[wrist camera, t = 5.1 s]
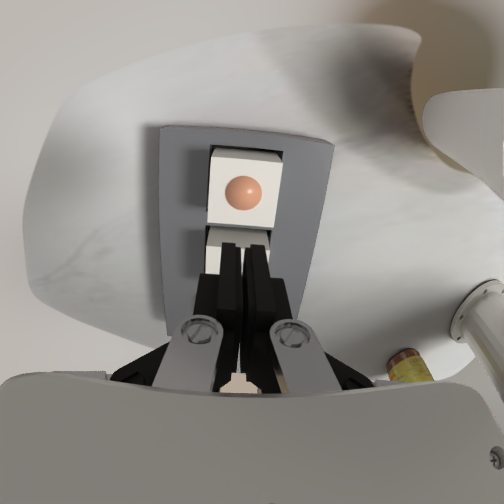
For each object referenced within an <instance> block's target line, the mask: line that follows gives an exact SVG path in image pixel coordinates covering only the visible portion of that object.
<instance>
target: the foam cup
mask: <svg viewBox="0 0 504 504" xmlns="http://www.w3.org/2000/svg"><path fill="white" fill-rule="evenodd" d="M422 124H423V131H424V133H425V135H426V137H427V139H428V141H429V143H431V144H432V145H433V146H434V147H436V148H437V149H439V150H440V151H441V152H443V153H444V154H446V155H447V156H449V157H450V158H452V159H453V160H455V161H456V162H458V163H459V164H461V165H462V166H463V167H465V168H466V169H467V170H469V171H470V172H472V173H473V174H474V175H476V176H477V177H478V178H480V179H481V180H482V181H483V182H485V183H486V184H487V185H489V186H490V188H491V189H492V190H493V191H494V192H495V193H496V194H497V195H498V196H499V197H500V198H501V199H503V200H504V88H498V89H497V88H496V89H477V90H464V91H454V92H444V93H439V94H437V95H434V96H432V97H431V98H430V99H429V100H428V102H427V103H426V104H425V106H424V111H423V115H422Z"/></svg>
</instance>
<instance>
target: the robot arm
mask: <svg viewBox="0 0 504 504" xmlns="http://www.w3.org/2000/svg"><path fill="white" fill-rule="evenodd" d="M450 332H451V336H452V337H453V339H454V340H455V341H456V342H458V343H468V345H469V347H470V348H471V350H472V351H473V353H474V354H475V356H476V357H477V359H478V360H479V362H480V364H481V365H482V367H483V369H484V370H485V372H486V373H487V375H488V377H489V378H490V380H491V382H492V384H493V385H494V387H495V389H496V391H497V392H498V394H499V395H500V397H501V399H502V401H503V403H504V284H503V283H502V282H500V281H498V280H493V281H489V282H487V283H484V284H483V285H481V286H480V287H478V288H477V289H476V290H474V291H473V292H472V293H471V294H470V295H469V296H468V297H467V298H466V299H465V301H464V302H463V303H462V304H461V306H460V307H459V309H458V310H457V312H456V314H455V316H454V318H453V320H452V324H451V329H450ZM239 343H240V370H241V373H246V381H247V382H248V381H249V382H252V383H253V384H254V385H256V386H257V387H258V390H257V391H258V394H248V393H247V394H246V393H220V388H221V387H222V386H224V385H225V384H227V383H228V382H229V381H231V373H236V369H237V361H238V352H239ZM0 504H504V434H503V432H502V430H501V428H500V426H499V424H498V422H497V420H496V418H495V416H494V414H493V413H492V411H491V409H490V408H489V406H488V405H487V403H486V401H485V400H484V399H483V397H481V395H480V394H479V393H478V392H477V391H476V390H475V389H473V388H472V387H470V386H467V385H464V384H461V383H456V382H451V381H422V382H399V381H386V380H376V381H375V382H374V383H373V382H371V381H370V380H369V379H368V378H367V377H365V376H364V375H362V374H361V373H359V372H357V371H355V370H354V369H352V368H350V367H349V366H347V365H345V364H344V363H342V362H340V361H339V360H337V359H335V358H334V357H332V356H330V355H329V354H327V353H325V352H324V351H323V349H322V347H321V345H320V343H319V341H318V339H317V337H316V335H315V333H314V331H313V330H312V329H311V327H309V326H308V325H307V324H305V323H303V322H301V321H298V320H294V319H293V317H292V313H291V308H290V304H289V300H288V295H287V291H286V287H285V283H284V279H283V278H271V277H270V272H269V266H268V261H267V255H266V249H265V245H257V244H251V245H250V248H249V247H245V251H244V260H243V270H242V266H241V247H236V243H228V242H222V247H221V259H220V271H219V274H206V273H200V275H199V281H198V287H197V293H196V299H195V305H194V311H193V315H192V316H189V317H186V318H184V319H183V320H181V321H180V322H179V323H178V325H177V326H176V329H175V331H174V333H173V336H172V338H171V341H170V342H168V343H166V344H164V345H162V346H161V347H159V348H157V349H155V350H153V351H151V352H150V353H148V354H146V355H144V356H142V357H140V358H138V359H137V360H135V361H133V362H131V363H129V364H127V365H125V366H123V367H122V368H120V369H118V370H117V371H115V372H114V373H113V374H106V372H105V371H87V372H83V371H81V372H80V371H78V372H76V371H75V372H73V371H53V372H34V373H25V374H21V375H17V376H14V377H11V378H9V379H8V380H6V381H5V382H4V383H3V384H2V385H1V386H0Z"/></svg>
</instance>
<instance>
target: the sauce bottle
mask: <svg viewBox="0 0 504 504" xmlns="http://www.w3.org/2000/svg"><path fill="white" fill-rule="evenodd" d="M387 372H388V374H389V379H390V381H399V382H422V381H434V379H433V377H432V375H431V373H430V371H429V370H428V368H427V366H426V364H425V362H424V360H423V358H422V357H421V356H420V354H419V352H418V351H416V350H414V349H408V350H404V351H402V352H400V353H399V354H397V355H395V356H394V357H393V358H392V359H391V360H390V361H389V363H388V365H387Z"/></svg>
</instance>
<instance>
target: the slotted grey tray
mask: <svg viewBox="0 0 504 504" xmlns="http://www.w3.org/2000/svg"><path fill="white" fill-rule="evenodd" d="M213 145H227V146H240V147H251V148H261V149H270V150H278V156H279V158H280V159H281V161H282V162H283V167H282V174H281V181H280V188H279V195H278V202H277V209H276V215H275V222H274V228H272V227H260V226H248V225H235V224H222V223H208V222H207V219H208V199H209V182H210V166H211V156H212V150H213ZM334 146H335V145H333V144H331V143H330V142H328V141H326V140H322V139H316V138H310V137H303V136H296V135H289V134H281V133H273V132H264V131H255V130H244V129H232V128H218V127H199V126H166V127H164V128H162V129H160V141H159V228H160V252H161V269H162V284H163V296H164V308H165V318H166V327H167V336H173V333H174V331H175V329H176V326H177V325H178V323H179V322H180V321H181V320H183V319H184V318H186V317H189V316H192V315H193V311H194V305H195V299H196V293H197V287H198V281H199V275H200V273H206V245H207V236H208V225H212V226H225V227H238V228H251V229H263V230H267V236H268V242H269V247H270V255H269V262H268V266H269V272H270V277H271V278H283V279H284V283H285V287H286V291H287V295H288V300H289V304H290V308H291V313H292V317H293V319H294V320H297V316H298V312H299V308H300V304H301V301H302V297H303V293H304V289H305V285H306V281H307V276H308V272H309V268H310V264H311V260H312V255H313V251H314V247H315V242H316V238H317V233H318V228H319V224H320V219H321V214H322V210H323V205H324V200H325V195H326V190H327V184H328V179H329V174H330V169H331V163H332V158H333V152H334Z"/></svg>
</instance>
